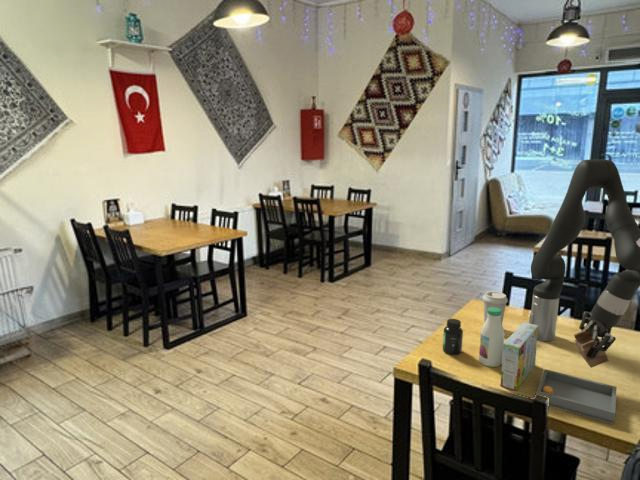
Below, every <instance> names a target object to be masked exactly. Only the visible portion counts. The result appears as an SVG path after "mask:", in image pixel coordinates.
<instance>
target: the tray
mask: <svg viewBox="0 0 640 480" xmlns="http://www.w3.org/2000/svg"><path fill="white" fill-rule="evenodd" d="M545 386H550V387H551V388H552V389H553V394H549V393H545V392H542V389H543V387H545ZM617 390H618V389H617V386H614V385H611V384H607V383H602V382H598V381H595V380H591V379H587V378H583V377H578V376H574V375H569V374H566V373H563V372H558V371H553V370H550V369H546V368H544V369H543V372H542V376H541V378H540V381H539V384H538V387H537V389H536V394H535V396H536V395H537V394H538V395H542V396H546V397H548V398H549V406H548V407H551V408H554V407H556V408H555V409H557V408H559V409H558V410H561V409H562V410H561V411H564V410H566V411H565V412H568V411H570V412H569V413H571V412H573V413H572V414H575V413H577V414H576V415H578V414H579V416H582V415H583V417H585V416H586V418H589V419H593V420H596V421H599V420H600V422H604V423H605V424H606V423H607V424H610V425H614V423H615V418H616V417H615V416H616V404H617V401H616V400H617Z"/></svg>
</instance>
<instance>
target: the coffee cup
mask: <svg viewBox="0 0 640 480" xmlns="http://www.w3.org/2000/svg"><path fill="white" fill-rule="evenodd" d="M482 300H483V320H484V321H483V322H484V323H485V321H486V320H487V317H488V315H487V310H488V308H490V307H495V308H499V309H501V310H502V314H501V317H500V319H501V323H502V324H503V323H504V322H503V321H504V317H505V312H506V306H507V303H508V302H509V300H508V298H507V295H506V294H505V293H503V292H500V291H487V292H485V294H484V295H483V296H482ZM484 323H483V324H484Z"/></svg>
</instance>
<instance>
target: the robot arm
mask: <svg viewBox="0 0 640 480" xmlns="http://www.w3.org/2000/svg"><path fill="white" fill-rule="evenodd" d="M589 189H603V192H605V194H606V196H607V206H606V210H605V223H606V225H607V228H608V230H609V233H610V235H611V236H612V238H613V242H614V251H615V258H616V261H617V262H618V263H619V265H620V266H621V267H622V268H624V269H625V270H623V271H620V272H615V274H613V275H612V276H611V277H610V280H609V281H608V284H607V285H606V287H605V288H604V290H603V291H602V292H601V294H600V295H599V297H598V298H597V301H596V303H595V304H594V306H593V307H592V310H591V311H590V312H588V311H586V312H584V313H583V314H584V315H583V317H582V319H581V322H580V325H579V326H578V327H579V330H580V332H582V331H584V330H585V331H589V328H590V331H591V332H592V333H593V338H592V339H593V340H594V343H593V345H592V347H591V348H590V350H589V352H588V353H587V355H586V356H587V357H588V358H595V357H596V355H597V353H598V352H599V350H600V351H604V352H605V353H606V352H607V351H608V350H609V349H610V347H611V346H612V345H613V343H615V341H616V338H617V337H615V336H613V335H612V334H611V332H612V328H614V327H617V326H618V324H619V323H620V321H621V319H622V318H623V316H624V315H625V313H626V311H627V310H628V308H629V305H630V303H631V301H632V299H633V298H634V296H635V294H636V292H637V291H638V289H639V288H640V246H639V244H638V243H637V241H638V240H640V227H639V225H638V223H637V221H636V220H635V217H634V215H633V213H632V211H631V209H630V207H629V203H628V201H627V198H626V194H625V189H624V186H623V183H622V180H621V176H620V173H619V170H618V167H617V165H616V164H615V162H614V161H612V160H610V159H601V158H600V159H598V158H597V159H584V160H581V161H579V163H578V164H577V165H576V167H575V169H574V171H573V173H572V176H571V179H570V182H569V185H568V188H567V192H566V194H565V196H564V199H563V201H562V203H561V205H560V208H558V209H559V210H558V211H557V214H556V215H555V217H554V220H553V222H552V224H551V226H550V228H549V230H548V232H547V235H546V237H545V238H544V241H543V243H542V244H541V246H540V247H539V249H538V251H537V252H536V253H535V255H534V256H533V258H532V261H531V263H530V274H531V276H532V277H533V278H534V279H537V280H544V281H542V282H541V283H539V284H536V285H535V286H534V288H533V289H532V290H533V291H532V302H531V310H530V311H531V312H530V314H529V321H528V323H530V324H534V325H538V335H537V341H540V342H551V341H554V340H555V337H556V330H557V329H556V328H557V322H558V321H557V320H558V313H559V303H560V296H561V293H562V291H563V287H564V282H565V281H564V280H565V275H566V269H567V268H566V263H565V262H566V261H565V259H564V258H563V257H562V256H561V255H559V254H558V253H559V252H561V251H562V250H563V249H565V248H567V247H568V246H569V245H570V244H572V243H573V242H574V241H575V240H576V239H577V238H578V237H579V235H580V234H581V232H582V230H583V227H584V226H585V223H586V213H585V209H584V206H583V200H584V197H585V195H586V193H587V192H588V190H589ZM585 324H586V325H585ZM590 331H589V332H590ZM597 337H598V338H599V339H598V338H597ZM598 341H600V343H599V344H598V345H597V342H598Z"/></svg>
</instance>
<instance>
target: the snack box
mask: <svg viewBox="0 0 640 480" xmlns="http://www.w3.org/2000/svg"><path fill="white" fill-rule="evenodd" d="M537 335H538V325H534V324H530V323H529V322H522V323H521V324H520V325H519V327H518V328H516V330H515V331H514V332H513V333H512V334H511V335H510V336H509V337H508V338H507V339H506V340H504V344H503V357H502V364H501V373H500V386H501V387H504V388H507V389H510V390H512V391H517V390H518V389H519V387H520V386H521V385H522V383H523V382H524V381H525V379H526V378H527V376H528V375H529V374H530V373H531V371H532V370H533V368H534V367H535V366H536V362H537V360H536V359H537V357H536V356H537V344H538V340H537Z"/></svg>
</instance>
